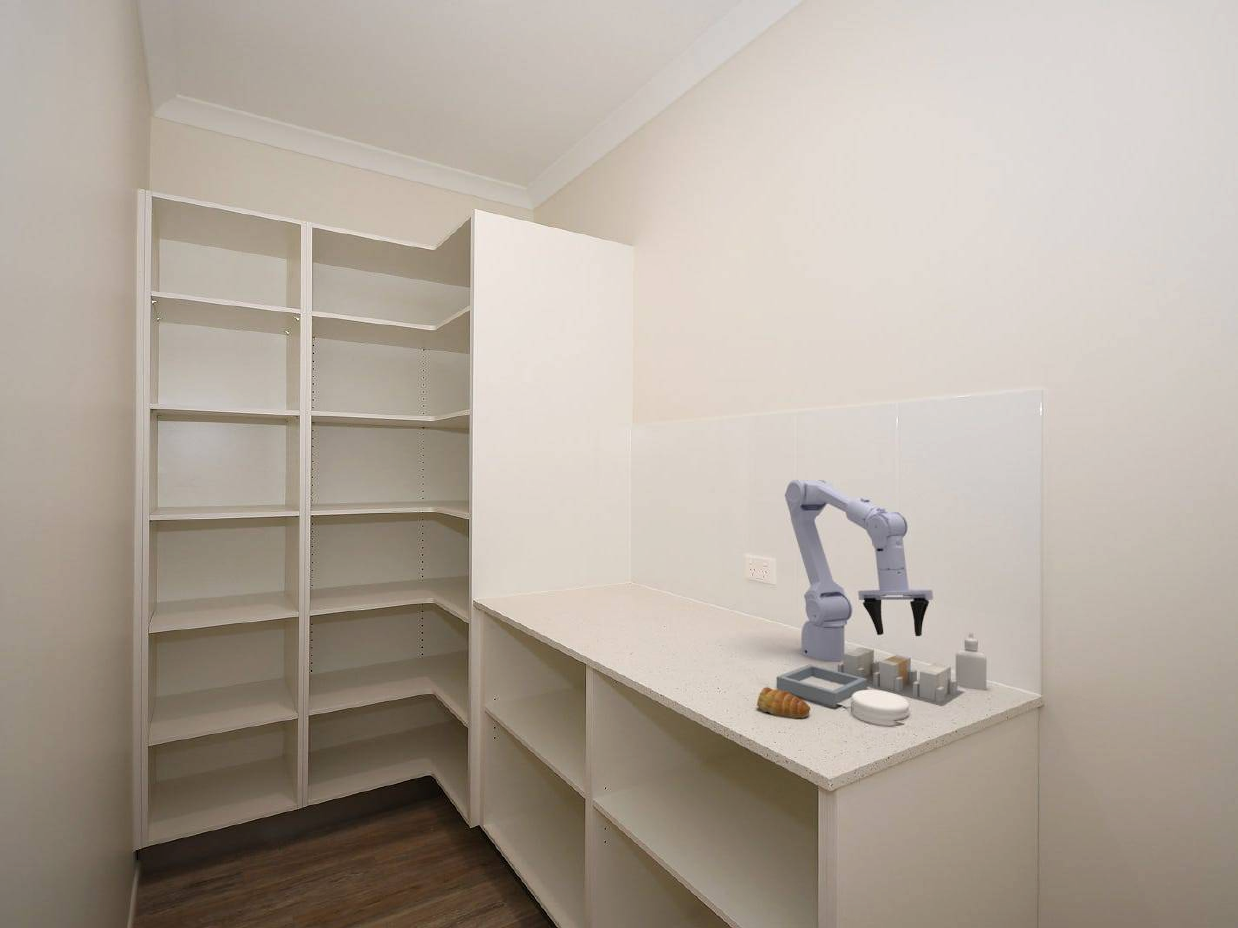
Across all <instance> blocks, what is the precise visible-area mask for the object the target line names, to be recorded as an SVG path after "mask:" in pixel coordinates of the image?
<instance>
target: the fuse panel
mask: <svg viewBox="0 0 1238 928" xmlns="http://www.w3.org/2000/svg"><path fill="white" fill-rule="evenodd" d="M880 662H881V661H877V660H876V661H874V662H873V663H872V674H869V675H867V676H865V668H862V667H861V668H859V669H857V676H858V677H861V678H865V679H867V688H872V689H874V690H879V691H885V692H890V693H893V694H896V695H899V696H901V697H906V698H910V699H912V700H917V701H921V702H925V703H928V704H931V705H935V706H939V707H943V706H946V705H947V704H948V703H950V702H952V701H954V700H955V699H957V698H958V697H959V696H961V695H963V694H964V693H965V691H964V690H963V691H962V690H958V685H957V682H958V680H956V678H955V679H954V678H953V679H952V678H951V681H950V692H949V693H947V694H946V695H944V687H939V688H937V689H936V701H934V700H930V699H926V698H923V697H919V696H920V680H918V670H916V669H912V670H911V671H909V683H907V684H905V685H903V677H897V678H895V690H892V689H888V688H884V687H880ZM836 667H837V669H836V670H837V671H838V672H842V673H843V662H839V663H838V664H837V665H836Z"/></svg>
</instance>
